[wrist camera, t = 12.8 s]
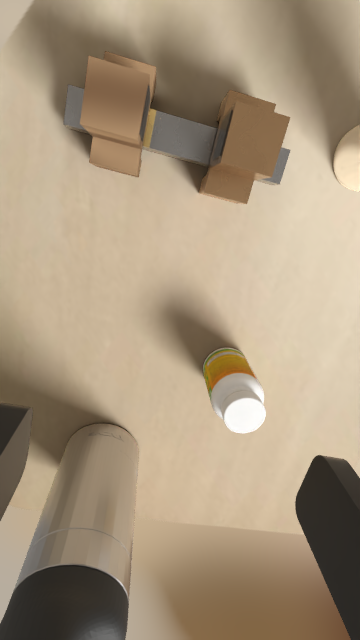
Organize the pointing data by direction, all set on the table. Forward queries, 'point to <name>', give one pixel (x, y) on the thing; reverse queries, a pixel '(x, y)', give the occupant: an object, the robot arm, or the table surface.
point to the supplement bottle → (234, 390)
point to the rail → (172, 136)
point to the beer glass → (348, 160)
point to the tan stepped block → (117, 110)
